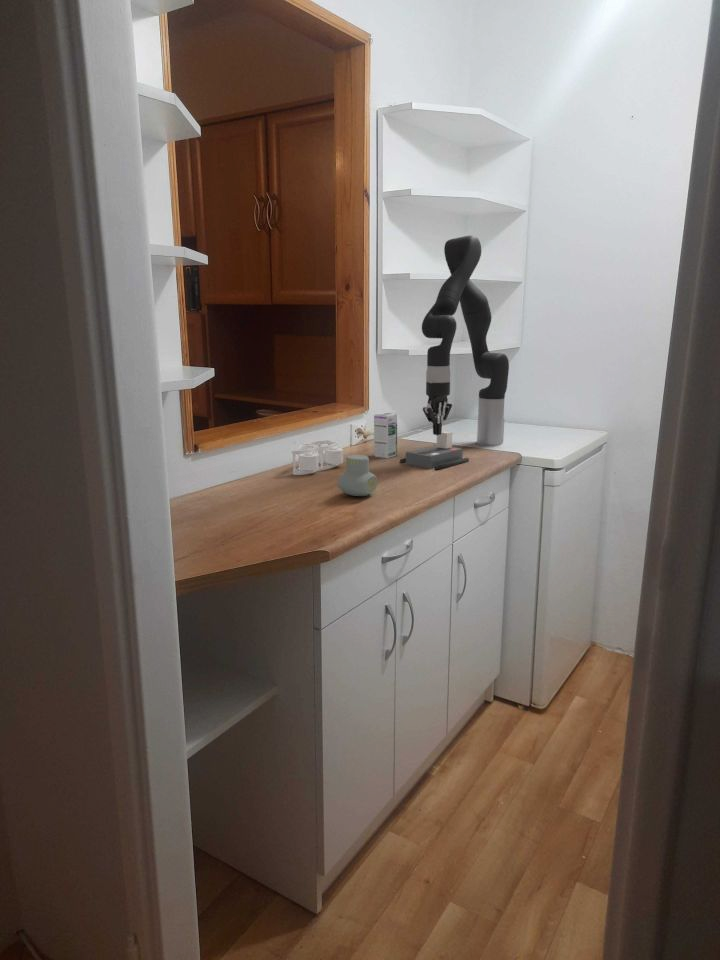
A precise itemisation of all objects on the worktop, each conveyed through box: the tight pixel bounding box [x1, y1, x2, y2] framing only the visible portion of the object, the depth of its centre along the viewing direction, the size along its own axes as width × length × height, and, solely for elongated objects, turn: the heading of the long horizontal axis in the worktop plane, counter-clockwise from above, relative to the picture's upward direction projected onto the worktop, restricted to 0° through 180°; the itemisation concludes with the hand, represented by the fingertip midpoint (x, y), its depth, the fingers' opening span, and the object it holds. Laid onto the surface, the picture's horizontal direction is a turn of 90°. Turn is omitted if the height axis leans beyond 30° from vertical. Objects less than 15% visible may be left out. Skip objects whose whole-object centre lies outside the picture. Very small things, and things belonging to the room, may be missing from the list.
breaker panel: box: [405, 444, 464, 470], centre depth 219 cm, size 17×10×4 cm, turn 137°
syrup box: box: [373, 412, 398, 459], centre depth 227 cm, size 6×6×14 cm
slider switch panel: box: [399, 457, 470, 471], centre depth 219 cm, size 17×15×1 cm
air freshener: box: [337, 454, 379, 497], centre depth 180 cm, size 11×8×10 cm
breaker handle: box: [435, 430, 453, 449], centre depth 221 cm, size 3×4×5 cm
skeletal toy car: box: [291, 439, 344, 476], centre depth 210 cm, size 20×11×7 cm, turn 140°
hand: (437, 434), depth 217 cm, fingers closed
